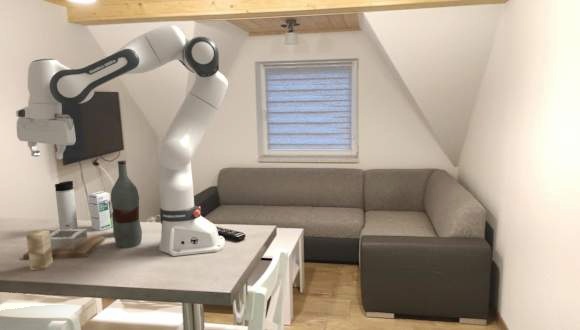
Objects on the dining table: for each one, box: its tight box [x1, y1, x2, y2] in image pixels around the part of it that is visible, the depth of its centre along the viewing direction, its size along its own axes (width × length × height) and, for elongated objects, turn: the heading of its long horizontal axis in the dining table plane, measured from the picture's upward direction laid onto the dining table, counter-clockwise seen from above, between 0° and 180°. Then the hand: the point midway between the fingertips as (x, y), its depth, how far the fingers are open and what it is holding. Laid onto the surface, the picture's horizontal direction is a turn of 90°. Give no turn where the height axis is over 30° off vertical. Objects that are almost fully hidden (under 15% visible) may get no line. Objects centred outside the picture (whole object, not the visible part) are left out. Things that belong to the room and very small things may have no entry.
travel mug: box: [54, 180, 79, 230], centre depth 166 cm, size 6×7×20 cm
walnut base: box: [22, 235, 105, 260], centre depth 148 cm, size 20×16×2 cm
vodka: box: [110, 160, 143, 249], centre depth 149 cm, size 9×9×30 cm
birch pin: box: [25, 230, 54, 271], centre depth 132 cm, size 4×4×11 cm
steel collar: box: [50, 228, 89, 251], centre depth 147 cm, size 10×10×4 cm
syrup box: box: [87, 190, 113, 232], centre depth 169 cm, size 6×6×14 cm
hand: (47, 157), depth 132 cm, fingers open, 8 cm apart
